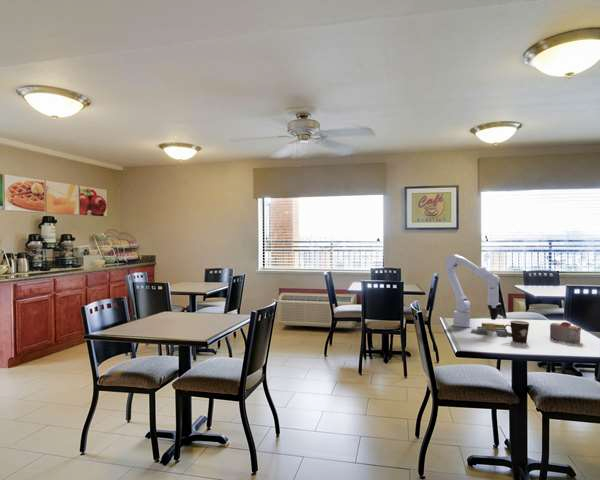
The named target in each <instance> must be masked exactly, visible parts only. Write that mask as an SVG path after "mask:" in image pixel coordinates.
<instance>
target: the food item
mask: <svg viewBox="0 0 600 480" xmlns="http://www.w3.org/2000/svg"><path fill="white" fill-rule="evenodd" d="M581 331H582V327H581V326H575V325H572V324H571V323H570V322H568V321H567V322H565V321H563V322H561V323H560V322H559V323H558V322H552V323H550V324H549V339H550V340H555V341H560V342H562V341H563V342H567V343H571V342H573V343H572V344H576V342H577V343H580V342H581Z"/></svg>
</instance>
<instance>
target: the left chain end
mask: <svg viewBox="0 0 600 480" xmlns="http://www.w3.org/2000/svg"><path fill="white" fill-rule="evenodd" d="M471 334H477V335H484V336H487V335H488V330H487V327H482V326H476V329H475V328H471Z"/></svg>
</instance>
